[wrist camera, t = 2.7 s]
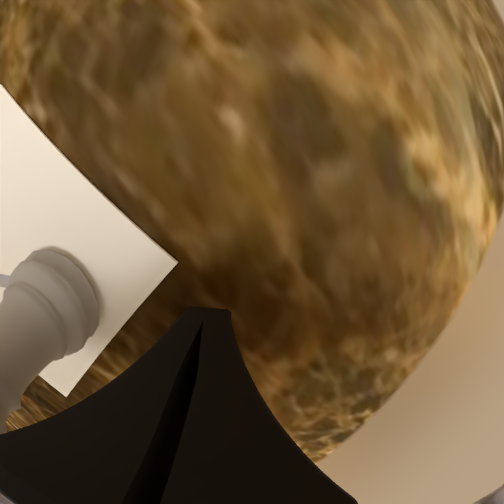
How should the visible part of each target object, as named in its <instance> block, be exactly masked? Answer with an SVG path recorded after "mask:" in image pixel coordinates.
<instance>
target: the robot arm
mask: <svg viewBox="0 0 504 504" xmlns="http://www.w3.org/2000/svg"><path fill="white" fill-rule="evenodd" d="M0 504H358V503H357V501H356V500H355V499H354V498H353V497H352V496H351V495H349V494H348V493H347V492H345V491H344V490H343V489H342V488H341V487H339V486H338V485H337V484H336V483H335V482H333V481H332V480H331V479H330V478H329V477H328V476H326V475H325V474H324V473H323V472H322V471H321V470H320V469H319V468H318V467H317V466H316V465H315V464H314V463H313V462H312V461H311V460H310V459H309V458H308V457H307V456H306V455H305V454H304V453H303V451H302V450H301V449H300V448H299V447H298V446H297V444H296V443H295V442H294V441H293V440H292V438H291V437H290V436H289V435H288V434H287V432H286V431H285V430H284V429H283V427H282V426H281V425H280V424H279V422H278V421H277V419H276V418H275V416H274V415H273V414H272V412H271V411H270V409H269V408H268V406H267V405H266V403H265V401H264V400H263V398H262V396H261V395H260V393H259V391H258V390H257V388H256V386H255V384H254V382H253V380H252V378H251V376H250V374H249V372H248V370H247V368H246V366H245V363H244V361H243V359H242V356H241V353H240V351H239V348H238V345H237V343H236V339H235V336H234V332H233V328H232V323H231V312H230V311H229V310H228V309H214V308H200V307H188V308H187V309H186V310H185V311H184V312H183V313H182V314H181V315H180V317H179V318H178V319H177V320H176V321H175V322H174V323H173V325H172V326H171V327H170V328H169V329H168V330H167V331H166V332H165V333H164V334H163V335H162V336H161V337H160V338H159V339H158V341H157V342H156V343H155V344H154V345H153V346H152V347H151V348H150V349H149V350H148V351H146V352H145V353H144V354H143V355H142V356H141V357H140V358H139V359H138V360H137V361H136V362H134V363H133V364H132V365H131V366H130V367H129V368H128V369H126V370H125V371H124V372H123V373H122V374H120V375H119V376H118V377H116V378H115V379H114V380H112V381H111V382H110V383H108V384H107V385H106V386H104V387H103V388H101V389H100V390H98V391H97V392H95V393H94V394H92V395H91V396H89V397H87V398H86V399H84V400H82V401H81V402H79V403H77V404H76V405H74V406H72V407H70V408H68V409H66V410H64V411H62V412H60V413H58V414H56V415H54V416H52V417H50V418H47V419H45V420H43V421H40V422H38V423H35V424H33V425H30V426H27V427H24V428H20V429H17V430H14V431H11V432H8V433H4V434H0ZM473 504H504V484H503V485H502V486H501V487H499V488H498V489H496V490H495V491H493V492H492V493H490V494H489V495H487V496H486V497H483V498H482V499H480V500H479V501H477V502H475V503H473Z"/></svg>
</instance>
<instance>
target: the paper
mask: <svg viewBox="0 0 504 504" xmlns="http://www.w3.org/2000/svg"><path fill="white" fill-rule="evenodd" d="M44 249H47V250H50V251H53V252H55V253H58V254H60V255H62V256H65V257H67V258H69V259H70V260H71V261H72V262H73V263H74V264H75V265H77V266H78V267H79V268H80V269H81V270H82V272H83V273H84V275H85V276H86V278H87V279H88V281H89V282H90V283H91V285H92V288H93V291H94V294H95V297H96V300H97V303H98V308H99V326H98V327H97V329H96V331H95V333H94V335H93V336H92V337H89V338H88V339H87V341H86V343H85V345H84V347H83V348H82V349H81V350H79V351H78V352H76V353H73V354H71V355H68V356H64V358H62V359H59V360H57V361H52V362H51V363H49V364H48V365H47V366H46V367H45V368H44V369H43V370H42V371H41V372H40V373H39V374H38V375H39V376H41V377H42V378H43V379H44V380H45V381H47V382H48V383H49V384H50V385H51V386H53V387H54V388H55V389H56V390H58V391H59V392H60V393H62V394H63V395H64V396H65V397H67V396H68V394H69V393H70V392H71V390H72V389H73V388H74V386H75V385H76V384H77V383H78V381H79V380H80V379H81V377H82V376H83V375H84V373H85V372H86V371H87V370H88V368H89V367H90V366H91V364H92V363H93V362H94V361H95V359H96V358H97V357H98V356H99V354H100V353H101V352H102V351H103V349H104V348H105V347H106V346H107V344H108V343H109V342H110V341H111V340H112V338H113V337H114V336H115V335H116V334H117V332H118V331H119V330H120V329H121V328H122V326H123V325H124V324H125V323H126V322H127V320H128V319H129V318H130V317H131V316H132V314H133V313H134V312H135V311H136V310H137V309H138V307H139V306H140V305H141V304H142V303H143V302H144V300H145V299H146V298H147V297H148V296H149V295H150V294H151V292H152V291H153V290H154V289H155V288H156V287H157V286H158V285H159V283H160V282H161V281H162V280H163V279H164V278H165V277H166V276H167V274H168V273H169V272H170V271H171V270H172V269H173V268H174V267H175V266H176V264H177V263H178V261H177V260H175V259H174V258H173V257H172V256H171V255H170V254H168V253H167V252H166V251H165V250H164V249H163V248H162V247H160V246H159V245H158V244H157V243H156V242H155V241H154V240H152V239H151V238H150V237H149V236H148V235H147V234H146V233H145V232H144V231H142V230H141V229H140V228H139V227H138V226H137V225H136V224H135V223H134V222H132V221H131V220H130V219H129V218H128V217H127V216H126V215H125V214H124V213H123V212H122V211H121V210H120V209H118V208H117V207H116V206H115V205H114V204H113V203H112V202H111V201H110V200H109V199H108V198H107V197H106V196H105V195H104V194H103V193H102V192H101V191H100V190H99V189H98V188H97V187H95V186H94V185H93V184H92V183H91V182H90V181H89V180H88V179H87V178H86V177H85V176H84V175H83V174H82V173H81V172H80V171H79V170H78V169H77V168H76V167H75V166H74V165H73V164H72V162H71V161H70V160H69V159H68V158H67V157H66V156H65V155H64V154H63V153H62V152H61V151H60V150H59V149H58V148H57V147H56V146H55V145H54V144H53V143H52V142H51V140H50V139H49V138H48V137H47V136H46V135H45V134H44V133H43V132H42V131H41V130H40V128H39V127H38V126H37V125H36V124H35V123H34V122H33V121H32V119H31V118H30V117H29V116H28V115H27V114H26V113H25V111H24V110H23V109H22V108H21V107H20V106H19V104H18V103H17V102H16V101H15V100H14V98H13V97H12V96H11V95H10V94H9V92H8V91H7V90H6V89H5V87H4V86H3V85H2V84H0V303H1V302H2V300H3V293H4V290H5V289H6V288H7V287H8V283H9V277H10V275H11V273H12V272H13V270H14V269H15V268H16V267H17V266H18V265H19V263H20V262H21V261H25V259H26V258H27V257H28V256H29V255H30V254H31V253H32V252H33V251H36V250H44Z"/></svg>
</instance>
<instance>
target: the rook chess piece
mask: <svg viewBox="0 0 504 504" xmlns="http://www.w3.org/2000/svg"><path fill="white" fill-rule="evenodd" d="M98 326H99V308H98V303H97V300H96V297H95V294H94V291H93V288H92V285H91V283H90V282H89V281H88V279H87V278H86V276H85V275H84V273H83V272H82V270H81V269H80V268H79V267H78V266H77V265H75V264H74V263H73V262H72V261H71V260H70V259H69V258H67V257H65V256H62V255H60V254H58V253H55V252H53V251H50V250H47V249H44V250H36V251H33V252H32V253H31V254H30V255H29V256H28V257H27V258H26V259H25V261H21V262H20V263H19V265H18V266H17V267H16V268H15V269H14V270H13V272H12V273H11V275H10V277H9V283H8V287H7V288H6V289H5V290H4V293H3V300H2V302H1V303H0V434H4V433H7V430H6V420H7V418H8V416H9V414H10V413H11V412H12V411H14V410H21V402H20V398H21V396H22V395H23V393H24V391H25V390H26V388H27V387H28V385H29V384H30V383H31V382H32V381H33V380H34V379H35V378H36V376H37V375H38V374H39V373H40V372H41V371H42V370H43V369H44V368H45V367H46V366H47V365H48V364H49V363H51V362H52V361H57V360H59V359H62V358H64V356H68V355H71V354H73V353H76V352H78V351H79V350H81V349H82V348H83V347H84V345H85V343H86V341H87V339H88V338H89V337H92V336H93V335H94V333H95V331H96V329H97V327H98Z"/></svg>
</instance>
